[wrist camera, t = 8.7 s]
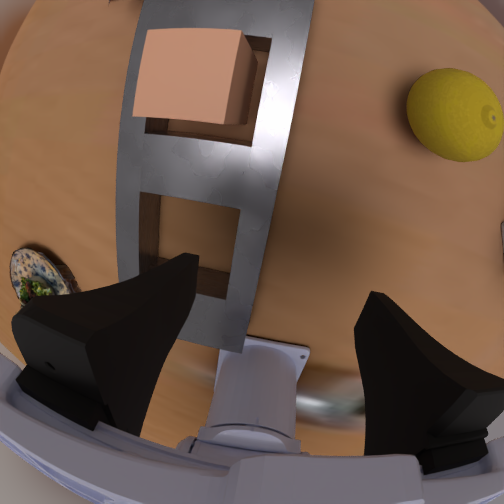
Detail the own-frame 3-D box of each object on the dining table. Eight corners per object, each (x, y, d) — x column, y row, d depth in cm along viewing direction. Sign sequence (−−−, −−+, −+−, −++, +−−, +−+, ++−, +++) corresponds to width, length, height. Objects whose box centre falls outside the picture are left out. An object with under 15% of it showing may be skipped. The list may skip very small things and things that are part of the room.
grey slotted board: (247, 325, 24) (241, 353, 21) (140, 299, 25) (123, 322, 21) (313, 0, 13) (318, -21, 10) (172, -9, 13) (152, -26, 10)
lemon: (374, 109, 16) (428, 104, 9) (419, 61, 14) (484, 40, 6) (425, 167, 17) (491, 198, 10) (466, 120, 15) (538, 131, 8)
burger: (73, 246, 24) (22, 285, 17) (98, 338, 29) (66, 383, 22) (8, 237, 24) (-34, 265, 18) (33, 316, 30) (2, 349, 23)
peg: (246, 124, 17) (223, 124, 11) (182, 116, 18) (132, 116, 11) (257, 62, 15) (241, 30, 9) (193, 56, 16) (147, 30, 9)
